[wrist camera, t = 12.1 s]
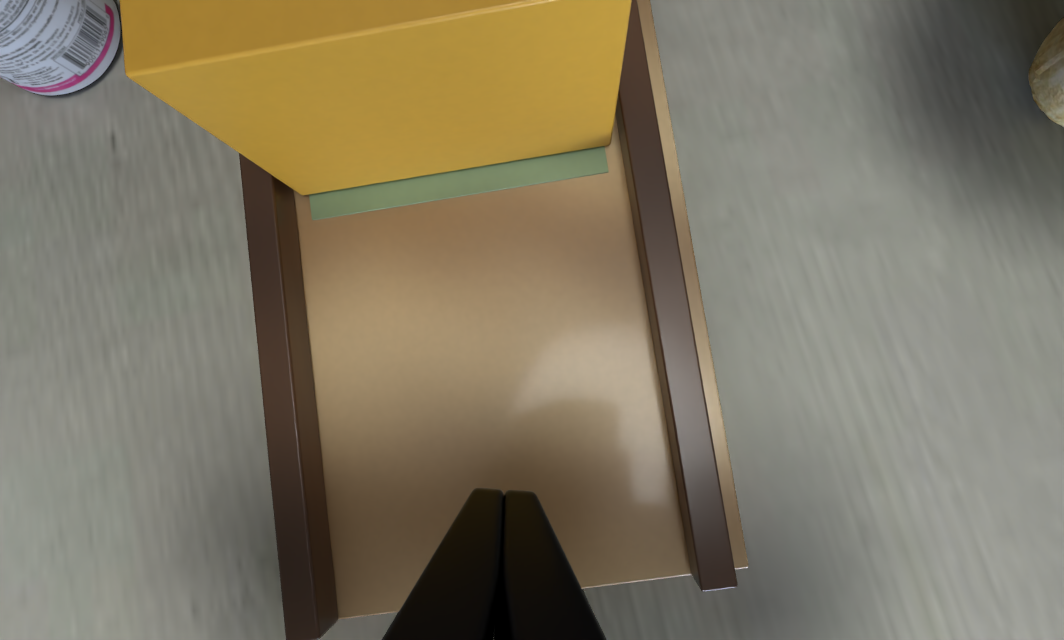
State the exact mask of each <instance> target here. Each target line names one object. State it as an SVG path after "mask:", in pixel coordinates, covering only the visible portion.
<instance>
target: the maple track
mask: <svg viewBox="0 0 1064 640" xmlns="http://www.w3.org/2000/svg"><path fill="white" fill-rule="evenodd" d="M239 157H240V167H241V178H242V188H243V198H244V209H245V219H246V229H247V240H248V250H249V260H250V271H251V281H252V291H253V302H254V312H255V322H256V333H257V343H258V353H259V364H260V374H261V384H262V395H263V405H264V415H265V426H266V436H267V446H268V457H269V467H270V478H271V488H272V498H273V509H274V519H275V529H276V540H277V550H278V560H279V571H280V581H281V591H282V602H283V612H284V622H285V633H286V640H318V639H320V638H321V637H322V636H323V635H324V634H325V633H326V632H327V631H328V630H329V629H330V628H331V627H332V626H333V625H334V624H335V623H336V622H337V621H338V620H339V619H347V618H355V617H362V616H370V615H378V614H386V613H394V612H399V610H400V609H401V607H402V606H403V604H404V602H405V601H406V599H407V597H408V596H409V594H410V592H411V591H412V589H413V587H414V586H415V584H416V582H417V581H418V579H419V577H420V576H421V574H422V573H423V571H424V569H425V568H426V566H427V564H428V563H429V561H430V559H431V558H432V556H433V554H434V553H435V551H436V549H437V548H438V546H439V544H440V543H441V541H442V540H443V538H444V536H445V535H446V533H447V531H448V530H449V528H450V526H451V525H452V523H453V521H454V520H455V518H456V516H457V515H458V513H459V511H460V510H461V508H462V507H463V505H464V503H465V502H466V500H467V498H468V497H469V495H470V493H471V492H472V491H473V490H474V489H475V488H494V489H501V490H502V491H503V493H504V494H505V492H506V491H507V490H525V491H533V492H534V493H535V494H536V495H537V497H538V499H539V501H540V503H541V505H542V507H543V509H544V511H545V513H546V515H547V517H548V519H549V521H550V524H551V526H552V528H553V530H554V532H555V534H556V536H557V538H558V540H559V542H560V544H561V546H562V548H563V551H564V553H565V555H566V557H567V559H568V561H569V563H570V565H571V567H572V569H573V571H574V573H575V575H576V577H577V580H578V582H579V584H580V586H581V588H582V589H584V588H592V587H600V586H608V585H616V584H624V583H632V582H640V581H647V580H655V579H663V578H671V577H679V576H687V575H692V576H693V578H694V579H695V581H696V583H697V584H698V586H699V588H700V589H701V591H703V592H705V591H713V590H721V589H729V588H736V587H737V585H738V584H737V578H736V573H735V569H742V568H747V567H748V560H747V554H746V548H745V542H744V537H743V531H742V525H741V519H740V514H739V508H738V502H737V497H736V491H735V485H734V479H733V474H732V468H731V462H730V456H729V451H728V445H727V439H726V434H725V428H724V422H723V416H722V411H721V405H720V399H719V393H718V388H717V382H716V376H715V371H714V365H713V359H712V353H711V348H710V342H709V336H708V330H707V325H706V319H705V313H704V307H703V302H702V296H701V290H700V285H699V279H698V273H697V267H696V262H695V256H694V250H693V244H692V239H691V233H690V227H689V222H688V216H687V210H686V204H685V199H684V193H683V187H682V181H681V176H680V170H679V164H678V159H677V153H676V147H675V141H674V136H673V130H672V124H671V118H670V113H669V107H668V101H667V96H666V90H665V84H664V78H663V73H662V67H661V61H660V55H659V50H658V44H657V38H656V32H655V27H654V21H653V15H652V10H651V4H650V0H632V3H631V9H630V16H629V23H628V30H627V37H626V43H625V50H624V57H623V64H622V71H621V77H620V84H619V91H618V98H617V105H616V111H615V118H614V125H613V132H612V139H611V144H610V145H606V146H600V147H594V148H588V149H582V150H576V151H570V152H564V153H558V154H552V155H546V156H540V157H534V158H527V159H521V160H515V161H509V162H503V163H497V164H491V165H485V166H479V167H473V168H467V169H461V170H455V171H449V172H442V173H436V174H430V175H424V176H418V177H412V178H406V179H400V180H394V181H388V182H382V183H376V184H370V185H364V186H357V187H351V188H345V189H339V190H333V191H327V192H321V193H315V194H309V195H301V194H299V193H298V192H296V191H295V190H293V189H292V188H290V187H289V186H287V185H286V184H284V183H283V182H281V181H280V180H279V179H277V178H276V177H274V176H273V175H271V174H270V173H268V172H267V171H265V170H264V169H262V168H261V167H259V166H258V165H256V164H255V163H254V162H252V161H251V160H249V159H248V158H246V157H245V156H243V155H242V154H240V153H239Z"/></svg>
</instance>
